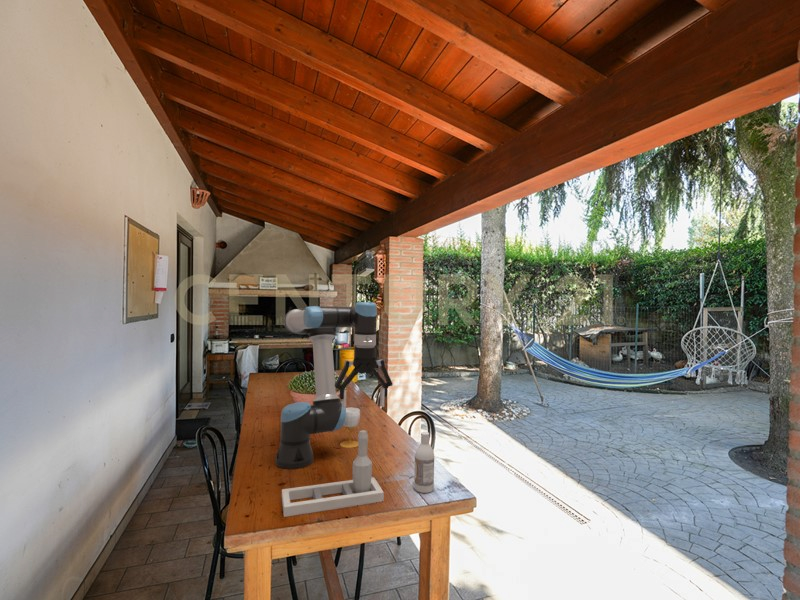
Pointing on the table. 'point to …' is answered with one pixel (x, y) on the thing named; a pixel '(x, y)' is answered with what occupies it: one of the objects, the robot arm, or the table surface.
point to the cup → (351, 425)
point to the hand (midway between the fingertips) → (363, 407)
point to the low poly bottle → (362, 466)
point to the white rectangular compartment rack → (330, 502)
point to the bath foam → (424, 466)
